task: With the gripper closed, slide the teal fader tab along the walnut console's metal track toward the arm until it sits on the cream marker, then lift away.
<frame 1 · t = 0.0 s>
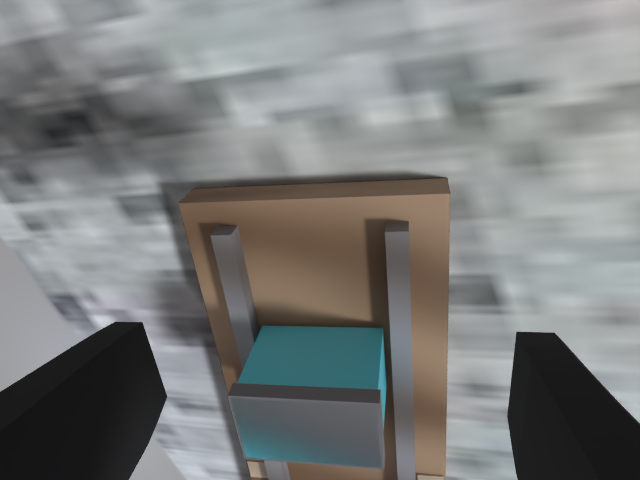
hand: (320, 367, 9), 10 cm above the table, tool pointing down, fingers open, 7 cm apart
fader tab: (316, 390, 18), point 4 cm above the table, slide at 3.0 cm
fader console: (337, 378, 23), on the table
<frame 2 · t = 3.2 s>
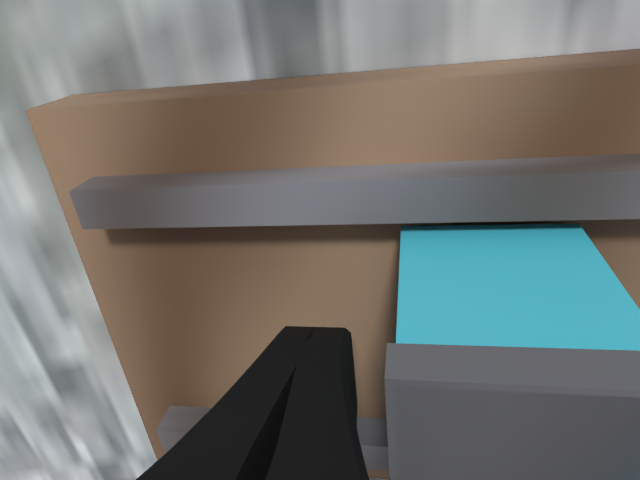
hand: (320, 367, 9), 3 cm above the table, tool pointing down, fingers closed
fader tab: (494, 414, 8), point 4 cm above the table, slide at 1.3 cm, touching gripper
fader console: (531, 287, 11), on the table
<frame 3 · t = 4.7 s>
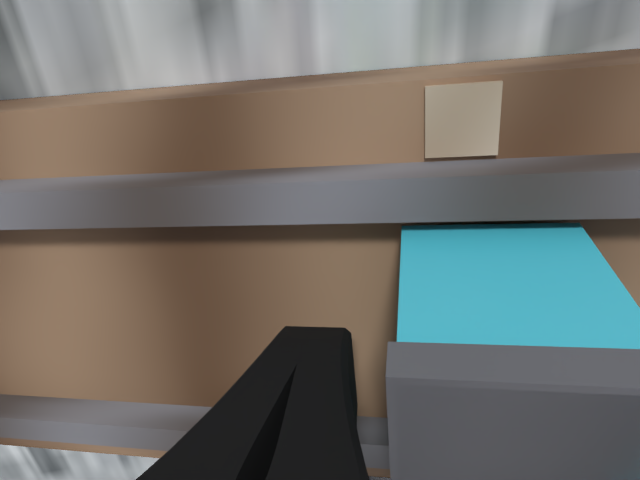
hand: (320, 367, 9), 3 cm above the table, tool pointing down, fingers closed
fader tab: (495, 413, 8), point 4 cm above the table, slide at -5.5 cm, touching gripper
fader console: (248, 285, 12), on the table
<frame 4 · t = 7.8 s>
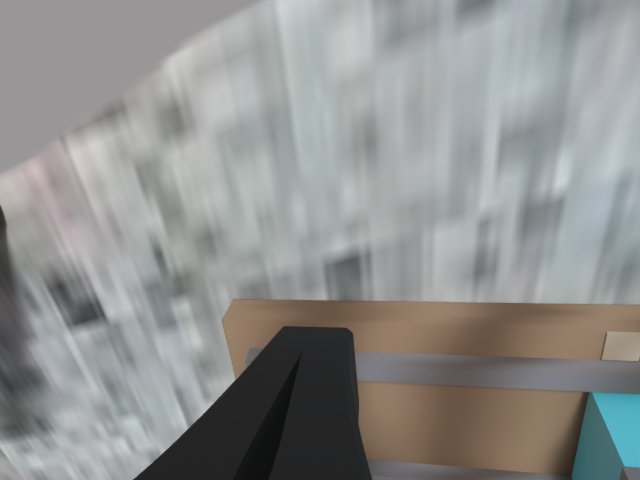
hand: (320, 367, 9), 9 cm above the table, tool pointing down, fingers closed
fader console: (466, 395, 21), on the table
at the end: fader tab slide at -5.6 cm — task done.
